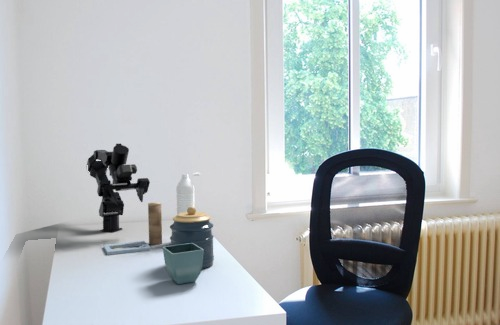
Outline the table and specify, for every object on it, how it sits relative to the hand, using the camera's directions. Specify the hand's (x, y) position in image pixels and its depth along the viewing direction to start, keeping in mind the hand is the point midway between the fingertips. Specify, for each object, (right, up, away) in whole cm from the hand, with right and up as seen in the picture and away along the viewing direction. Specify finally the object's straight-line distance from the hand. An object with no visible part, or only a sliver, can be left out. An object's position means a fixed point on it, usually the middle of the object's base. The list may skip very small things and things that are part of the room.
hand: (129, 202), depth 171 cm
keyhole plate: (+1, -15, -10) cm, 18 cm away
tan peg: (+10, -15, -2) cm, 18 cm away
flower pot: (+26, -17, -45) cm, 55 cm away
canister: (+26, -16, -30) cm, 43 cm away
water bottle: (+22, -15, +1) cm, 26 cm away
